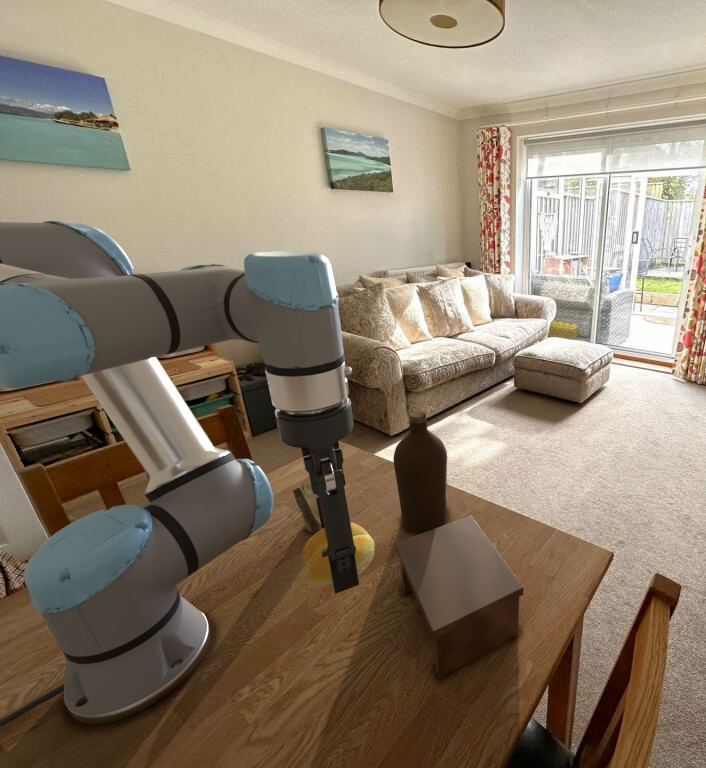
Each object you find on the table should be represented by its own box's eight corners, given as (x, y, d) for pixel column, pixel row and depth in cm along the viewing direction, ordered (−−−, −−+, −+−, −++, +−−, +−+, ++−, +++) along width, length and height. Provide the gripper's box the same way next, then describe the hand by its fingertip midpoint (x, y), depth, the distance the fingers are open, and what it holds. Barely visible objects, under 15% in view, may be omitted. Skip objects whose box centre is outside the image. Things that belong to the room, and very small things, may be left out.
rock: (314, 487, 92) (277, 509, 83) (331, 464, 89) (295, 484, 80) (346, 521, 92) (313, 547, 82) (365, 499, 88) (332, 523, 79)
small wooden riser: (436, 682, 56) (433, 631, 52) (399, 587, 70) (394, 543, 67) (521, 634, 63) (523, 587, 59) (471, 557, 77) (471, 515, 73)
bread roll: (319, 601, 47) (314, 575, 45) (298, 554, 53) (292, 531, 52) (387, 565, 52) (384, 541, 50) (360, 527, 58) (357, 504, 57)
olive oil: (410, 542, 80) (400, 431, 71) (392, 512, 88) (381, 409, 79) (458, 522, 86) (454, 417, 77) (437, 496, 94) (431, 398, 85)
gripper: (371, 437, 37) (391, 612, 45) (334, 366, 54) (354, 502, 63) (278, 458, 33) (318, 644, 42) (270, 374, 51) (300, 518, 59)
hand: (339, 559), depth 52 cm, fingers closed on bread roll, 9 cm apart
